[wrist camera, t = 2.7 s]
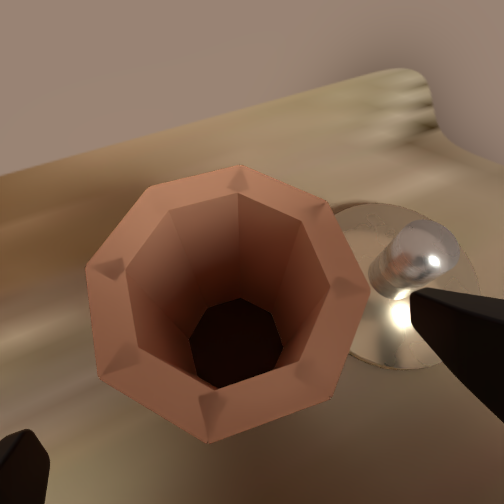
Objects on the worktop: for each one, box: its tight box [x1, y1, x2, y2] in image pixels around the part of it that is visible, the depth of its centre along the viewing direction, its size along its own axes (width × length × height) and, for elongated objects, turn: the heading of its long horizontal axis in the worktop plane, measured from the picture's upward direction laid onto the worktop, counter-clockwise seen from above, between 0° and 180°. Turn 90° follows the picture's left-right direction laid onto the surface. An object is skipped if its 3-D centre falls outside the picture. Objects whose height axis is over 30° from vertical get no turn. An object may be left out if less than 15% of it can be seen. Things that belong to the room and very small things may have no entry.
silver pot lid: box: [334, 203, 481, 370], centre depth 16 cm, size 10×10×5 cm
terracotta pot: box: [85, 165, 371, 444], centre depth 12 cm, size 6×6×10 cm
